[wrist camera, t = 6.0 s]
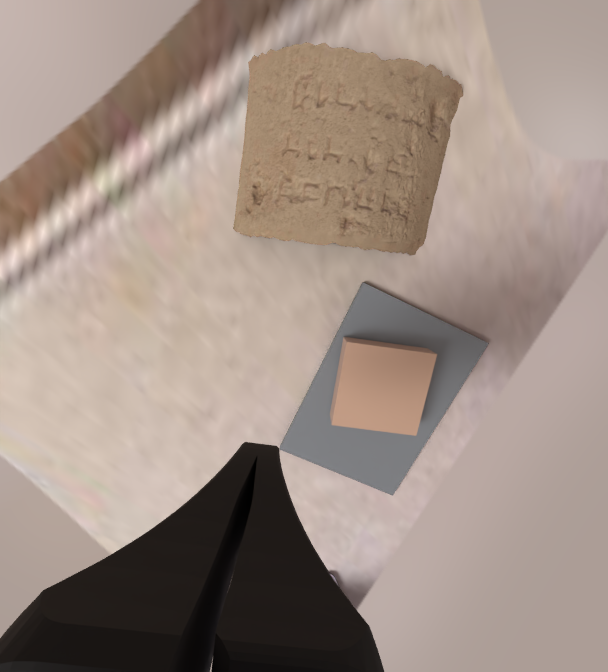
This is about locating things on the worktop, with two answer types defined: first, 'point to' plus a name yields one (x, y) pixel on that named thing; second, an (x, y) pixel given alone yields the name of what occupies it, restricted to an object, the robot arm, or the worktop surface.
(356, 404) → the tile
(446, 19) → the worktop surface
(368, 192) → the clay tablet
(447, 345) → the mat
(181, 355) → the worktop surface
